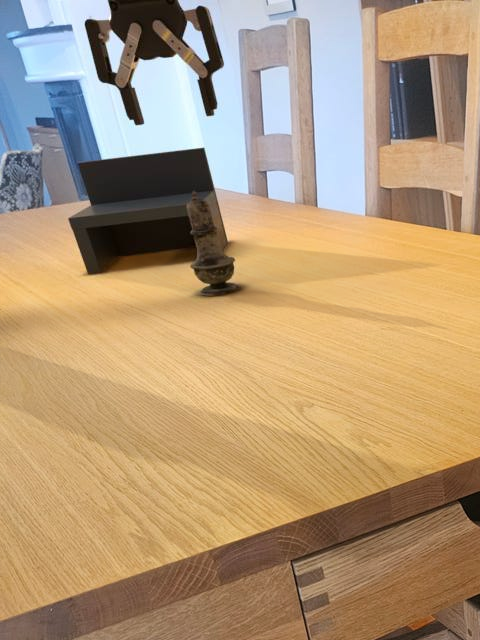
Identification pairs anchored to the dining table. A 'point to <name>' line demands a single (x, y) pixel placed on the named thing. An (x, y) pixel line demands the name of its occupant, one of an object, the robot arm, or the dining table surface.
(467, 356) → the dining table surface
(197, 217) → the salt shaker
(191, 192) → the bench
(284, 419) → the dining table surface
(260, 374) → the dining table surface
